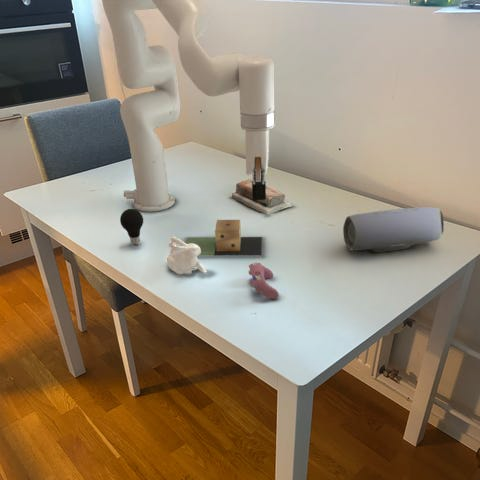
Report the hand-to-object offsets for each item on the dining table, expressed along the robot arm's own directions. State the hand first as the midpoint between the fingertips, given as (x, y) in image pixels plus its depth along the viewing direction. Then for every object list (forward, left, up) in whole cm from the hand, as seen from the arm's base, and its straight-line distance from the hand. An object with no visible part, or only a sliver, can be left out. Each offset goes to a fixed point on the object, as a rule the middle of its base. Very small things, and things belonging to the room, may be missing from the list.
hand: (259, 198), depth 122 cm
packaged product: (0, +29, -14) cm, 32 cm away
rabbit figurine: (-18, -12, -14) cm, 26 cm away
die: (-8, 0, -13) cm, 15 cm away
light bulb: (-33, +2, -14) cm, 36 cm away
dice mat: (-9, 0, -14) cm, 16 cm away
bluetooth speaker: (+33, 0, -14) cm, 36 cm away
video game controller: (+1, -20, -14) cm, 24 cm away
